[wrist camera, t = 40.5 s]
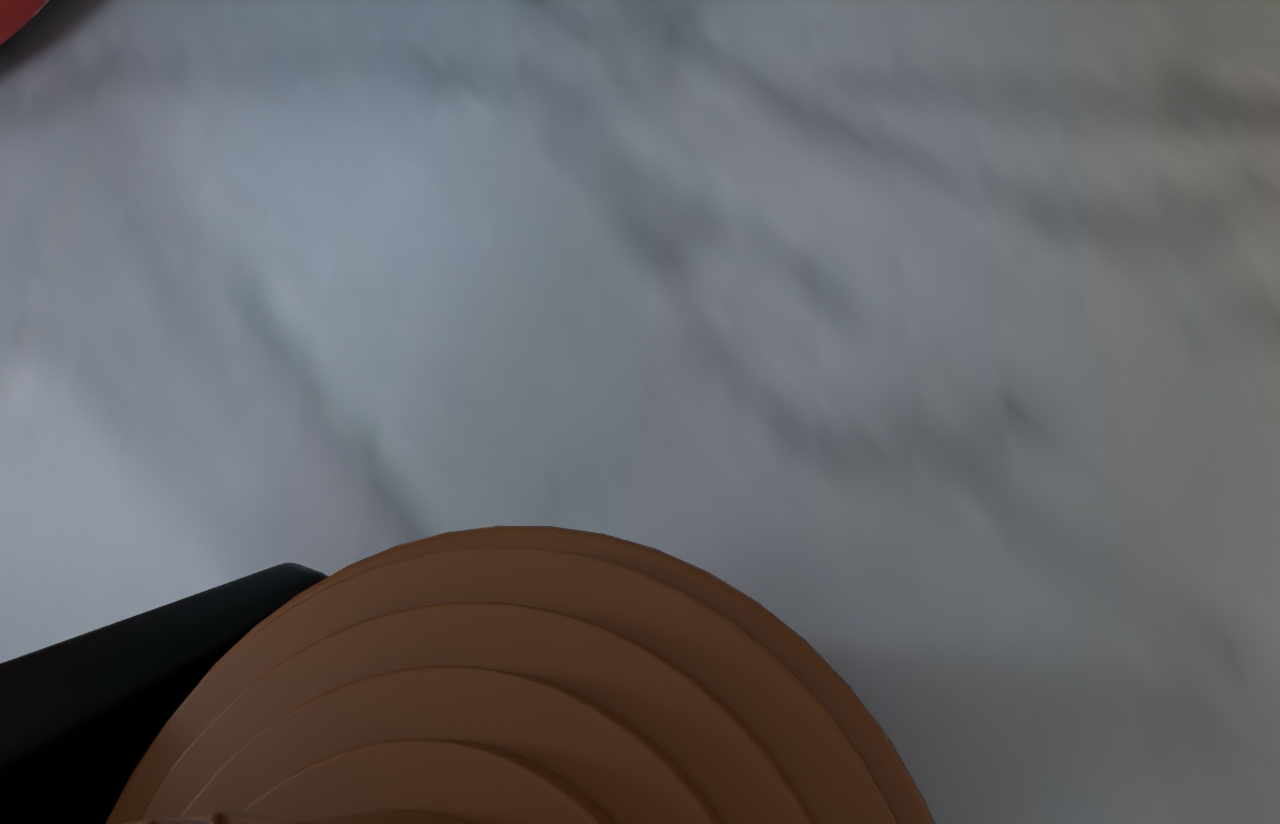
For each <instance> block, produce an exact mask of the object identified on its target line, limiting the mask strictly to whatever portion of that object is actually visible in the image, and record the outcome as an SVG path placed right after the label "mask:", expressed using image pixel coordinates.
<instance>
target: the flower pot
mask: <svg viewBox="0 0 1280 824" xmlns="http://www.w3.org/2000/svg"><path fill="white" fill-rule="evenodd" d="M48 1H49V0H0V45H1V44H2V43H4V42H5V41H6V40H7V39H9V38H10V37H11V36H13V35H14V34H15V33H16V32H17V31H18V30H19V29H21V28H22V27H23V26H24V25H25V24H26V23H27V22H28V21H29V20H31V19H32V18H33V17H34V16H35V15H36V14H37V13H38V12H39V11H40V10H41V9H42V8H43V7H44V6H45V5H46V3H47V2H48Z"/></svg>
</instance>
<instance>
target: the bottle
mask: <svg viewBox="0 0 1280 824" xmlns="http://www.w3.org/2000/svg"><path fill="white" fill-rule="evenodd" d="M105 824H935V823H934V820H933V818H932V816H931V813H930V811H929V809H928V806H927V804H926V802H925V800H924V798H923V796H922V795H921V793H920V791H919V789H918V788H917V786H916V784H915V782H914V781H913V779H912V777H911V776H910V774H909V772H908V770H907V769H906V767H905V765H904V763H903V762H902V760H901V758H900V756H899V755H898V753H897V751H896V749H895V748H894V746H893V744H892V742H891V741H890V739H889V738H888V737H887V735H886V734H885V733H884V731H883V730H882V729H881V727H880V726H879V725H878V723H877V722H876V721H875V719H874V718H873V717H872V715H871V714H870V713H869V711H868V710H867V709H866V707H865V706H864V705H863V703H862V702H861V701H860V699H859V698H858V697H857V695H856V694H855V693H854V691H853V690H852V689H851V687H850V686H849V685H848V684H847V683H846V682H845V681H844V680H843V679H842V678H841V677H840V676H839V675H838V674H837V673H836V672H835V671H834V670H833V668H832V667H831V666H830V665H829V664H828V663H827V662H826V661H825V660H824V659H823V658H822V657H821V656H820V655H819V654H818V653H817V652H816V651H815V650H814V649H813V648H812V647H811V646H810V645H809V644H808V642H807V641H806V640H804V639H803V638H802V637H801V636H799V635H798V634H797V633H796V632H794V631H793V630H792V629H791V628H789V627H788V626H787V625H786V624H784V623H783V622H782V621H781V620H779V619H778V618H777V617H776V616H774V615H773V614H772V613H771V612H769V611H768V610H767V609H766V608H764V607H763V606H762V605H761V604H760V603H758V602H757V601H755V600H753V599H752V598H750V597H748V596H747V595H745V594H744V593H742V592H740V591H739V590H737V589H735V588H734V587H732V586H730V585H729V584H727V583H726V582H724V581H722V580H721V579H719V578H717V577H716V576H714V575H712V574H711V573H709V572H707V571H705V570H703V569H701V568H698V567H696V566H694V565H691V564H689V563H687V562H685V561H682V560H680V559H678V558H675V557H673V556H671V555H669V554H666V553H664V552H662V551H660V550H657V549H654V548H651V547H647V546H644V545H641V544H637V543H634V542H630V541H627V540H623V539H620V538H616V537H613V536H609V535H606V534H601V533H594V532H587V531H580V530H573V529H566V528H559V527H552V526H493V527H486V528H478V529H470V530H463V531H455V532H447V533H443V534H439V535H435V536H432V537H428V538H424V539H421V540H417V541H413V542H409V543H406V544H402V545H398V546H395V547H393V548H390V549H388V550H385V551H383V552H380V553H378V554H376V555H373V556H371V557H368V558H366V559H363V560H361V561H359V562H356V563H354V564H351V565H349V566H347V567H345V568H343V569H342V570H340V571H338V572H336V573H335V574H333V575H331V576H329V577H327V578H326V579H324V580H322V581H320V582H319V583H317V584H315V585H313V586H312V587H310V588H308V589H306V590H305V591H303V592H301V593H299V594H298V595H297V596H295V597H294V598H292V599H291V600H290V601H288V602H287V603H286V604H284V605H283V606H282V607H280V608H279V609H278V610H276V611H275V612H274V613H272V614H271V615H270V616H268V617H267V618H265V619H264V620H263V621H261V622H260V623H259V624H257V625H256V626H255V627H254V628H253V629H252V630H250V631H249V632H248V633H247V634H246V635H245V636H244V637H243V638H242V639H241V640H240V641H239V642H238V643H237V644H236V645H235V646H233V647H232V648H231V649H230V650H229V651H228V652H227V653H226V654H225V655H224V656H223V657H222V658H221V659H220V660H219V661H217V662H216V663H215V664H214V666H213V667H212V668H211V669H210V670H209V671H208V673H207V674H206V675H205V676H204V677H203V679H202V680H201V681H200V682H199V683H198V684H197V686H196V687H195V688H194V689H193V690H192V691H191V693H190V694H189V695H188V696H187V697H186V699H185V700H184V701H183V702H182V703H181V704H180V706H179V707H178V708H177V710H176V711H175V713H174V714H173V715H172V716H171V717H170V719H169V720H168V721H167V722H166V723H165V725H164V726H163V728H162V729H161V731H160V732H159V734H158V735H157V737H156V738H155V740H154V741H153V742H152V744H151V745H150V747H149V748H148V750H147V751H146V753H145V754H144V756H143V757H142V759H141V760H140V762H139V763H138V765H137V766H136V768H135V769H134V771H133V772H132V774H131V776H130V778H129V780H128V782H127V784H126V785H125V787H124V789H123V791H122V793H121V795H120V797H119V799H118V800H117V802H116V804H115V806H114V808H113V810H112V812H111V813H110V815H109V817H108V819H107V821H106V823H105Z"/></svg>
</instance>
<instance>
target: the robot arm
mask: <svg viewBox="0 0 1280 824" xmlns="http://www.w3.org/2000/svg"><path fill="white" fill-rule="evenodd" d="M327 577H328V576H327V575H325V574H324V573H321V572H318V571H316V570H313V569H310V568H307V567H305V566H302V565H299V564H296V563H284V564H280V565H277V566H274V567H271V568H269V569H266V570H263V571H260V572H257V573H255V574H252V575H249V576H246V577H243V578H240V579H238V580H235V581H232V582H229V583H226V584H224V585H221V586H218V587H215V588H212V589H209V590H207V591H204V592H201V593H198V594H195V595H193V596H190V597H187V598H184V599H181V600H178V601H176V602H173V603H170V604H167V605H164V606H162V607H159V608H156V609H153V610H150V611H147V612H145V613H142V614H139V615H136V616H133V617H131V618H128V619H125V620H122V621H119V622H116V623H114V624H111V625H108V626H105V627H102V628H100V629H97V630H94V631H91V632H88V633H85V634H83V635H80V636H77V637H74V638H71V639H69V640H66V641H63V642H60V643H57V644H54V645H52V646H49V647H46V648H43V649H40V650H38V651H35V652H32V653H29V654H26V655H23V656H21V657H18V658H15V659H12V660H9V661H7V662H4V663H1V664H0V824H105V823H106V821H107V819H108V817H109V815H110V813H111V812H112V810H113V808H114V806H115V804H116V802H117V800H118V799H119V797H120V795H121V793H122V791H123V789H124V787H125V785H126V784H127V782H128V780H129V778H130V776H131V774H132V772H133V771H134V769H135V768H136V766H137V765H138V763H139V762H140V760H141V759H142V757H143V756H144V754H145V753H146V751H147V750H148V748H149V747H150V745H151V744H152V742H153V741H154V740H155V738H156V737H157V735H158V734H159V732H160V731H161V729H162V728H163V726H164V725H165V723H166V722H167V721H168V720H169V719H170V717H171V716H172V715H173V714H174V713H175V711H176V710H177V708H178V707H179V706H180V704H181V703H182V702H183V701H184V700H185V699H186V697H187V696H188V695H189V694H190V693H191V691H192V690H193V689H194V688H195V687H196V686H197V684H198V683H199V682H200V681H201V680H202V679H203V677H204V676H205V675H206V674H207V673H208V671H209V670H210V669H211V668H212V667H213V666H214V664H215V663H216V662H217V661H219V660H220V659H221V658H222V657H223V656H224V655H225V654H226V653H227V652H228V651H229V650H230V649H231V648H232V647H233V646H235V645H236V644H237V643H238V642H239V641H240V640H241V639H242V638H243V637H244V636H245V635H246V634H247V633H248V632H249V631H250V630H252V629H253V628H254V627H255V626H256V625H257V624H259V623H260V622H261V621H263V620H264V619H265V618H267V617H268V616H270V615H271V614H272V613H274V612H275V611H276V610H278V609H279V608H280V607H282V606H283V605H284V604H286V603H287V602H288V601H290V600H291V599H292V598H294V597H295V596H297V595H298V594H299V593H301V592H303V591H305V590H306V589H308V588H310V587H312V586H313V585H315V584H317V583H319V582H320V581H322V580H324V579H326V578H327Z"/></svg>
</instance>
